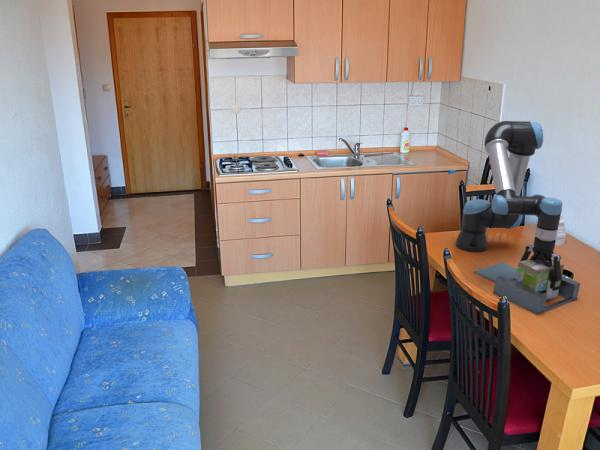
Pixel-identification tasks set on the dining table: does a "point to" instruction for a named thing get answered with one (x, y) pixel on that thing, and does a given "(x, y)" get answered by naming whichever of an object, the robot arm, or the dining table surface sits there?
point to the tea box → (537, 276)
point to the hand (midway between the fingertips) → (536, 289)
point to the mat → (498, 271)
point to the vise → (535, 294)
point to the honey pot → (561, 233)
